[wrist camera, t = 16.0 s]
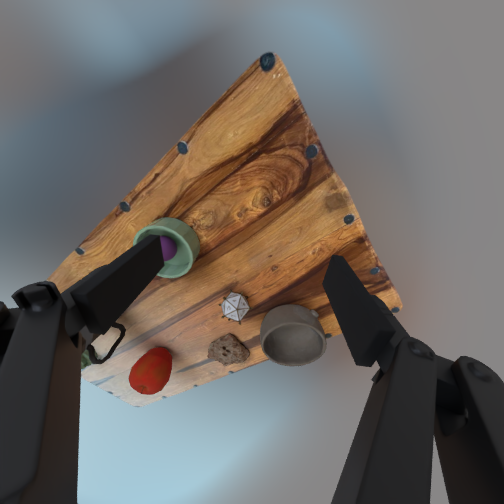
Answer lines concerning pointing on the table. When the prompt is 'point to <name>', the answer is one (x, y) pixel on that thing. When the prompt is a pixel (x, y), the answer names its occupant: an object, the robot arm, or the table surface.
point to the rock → (228, 351)
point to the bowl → (292, 335)
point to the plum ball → (168, 247)
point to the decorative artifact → (86, 359)
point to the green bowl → (184, 240)
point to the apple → (151, 371)
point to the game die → (235, 306)
